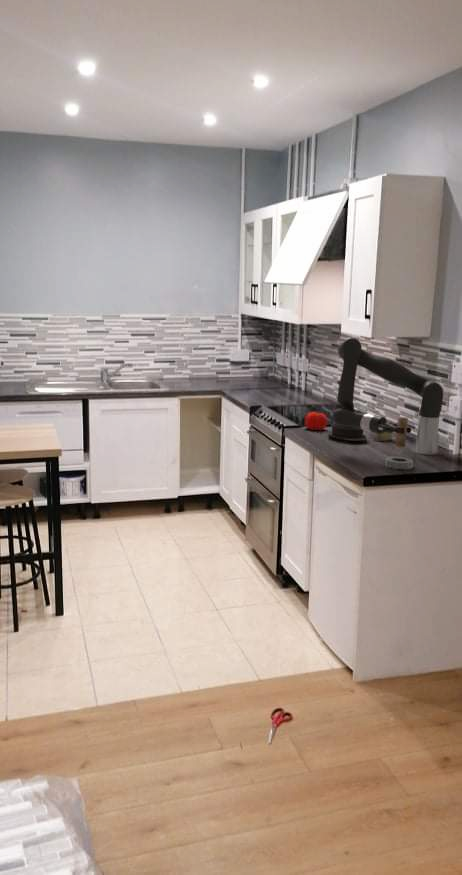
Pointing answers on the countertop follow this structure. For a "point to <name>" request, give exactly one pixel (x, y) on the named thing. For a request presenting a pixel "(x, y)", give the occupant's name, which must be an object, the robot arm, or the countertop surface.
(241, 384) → the countertop surface
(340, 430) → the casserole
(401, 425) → the dowel
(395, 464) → the collar
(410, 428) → the robot arm
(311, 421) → the tomato
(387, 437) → the rock
